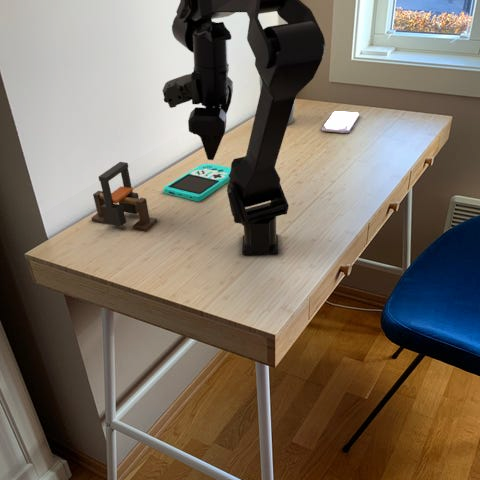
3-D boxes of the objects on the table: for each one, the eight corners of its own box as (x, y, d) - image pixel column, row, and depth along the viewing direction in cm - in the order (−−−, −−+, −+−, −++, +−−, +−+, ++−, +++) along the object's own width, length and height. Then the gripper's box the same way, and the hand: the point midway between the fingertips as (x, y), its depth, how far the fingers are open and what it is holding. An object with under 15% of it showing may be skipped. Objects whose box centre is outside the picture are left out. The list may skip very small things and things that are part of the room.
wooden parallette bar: (157, 221, 105) (153, 196, 102) (146, 231, 102) (142, 205, 99) (103, 212, 110) (97, 187, 106) (92, 221, 107) (85, 196, 103)
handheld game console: (240, 174, 121) (240, 168, 121) (200, 202, 111) (199, 196, 110) (204, 166, 126) (204, 161, 125) (162, 193, 116) (161, 187, 115)
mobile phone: (360, 112, 148) (349, 130, 137) (359, 115, 149) (348, 133, 138) (333, 110, 151) (320, 127, 140) (333, 113, 151) (320, 131, 140)
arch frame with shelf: (121, 226, 102) (110, 178, 96) (105, 223, 104) (93, 175, 97) (141, 210, 107) (132, 163, 101) (125, 207, 109) (115, 161, 102)
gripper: (172, 42, 97) (178, 124, 108) (154, 81, 84) (163, 170, 95) (232, 44, 97) (232, 126, 108) (223, 84, 84) (224, 173, 95)
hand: (213, 147), depth 101 cm, fingers open, 9 cm apart
